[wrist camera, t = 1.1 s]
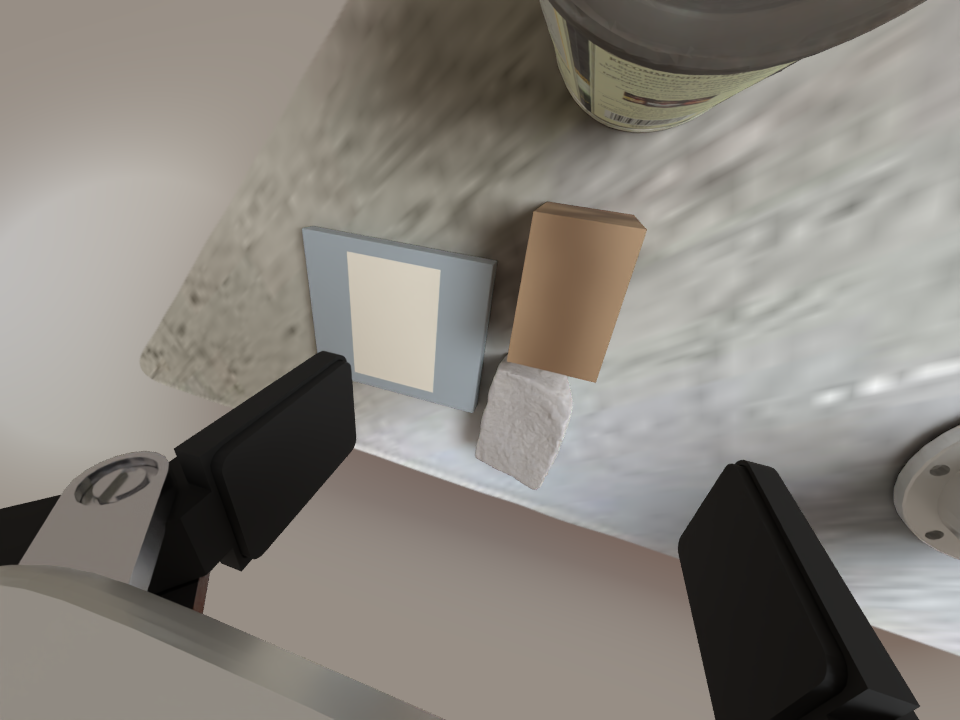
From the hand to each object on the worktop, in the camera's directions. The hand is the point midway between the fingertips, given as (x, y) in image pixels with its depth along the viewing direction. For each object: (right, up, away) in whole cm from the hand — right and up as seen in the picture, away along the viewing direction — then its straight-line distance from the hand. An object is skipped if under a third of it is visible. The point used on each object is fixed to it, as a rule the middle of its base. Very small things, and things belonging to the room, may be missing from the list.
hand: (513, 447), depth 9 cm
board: (-7, +5, +19) cm, 21 cm away
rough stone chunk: (+3, -1, +20) cm, 20 cm away
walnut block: (+5, +8, +14) cm, 17 cm away
